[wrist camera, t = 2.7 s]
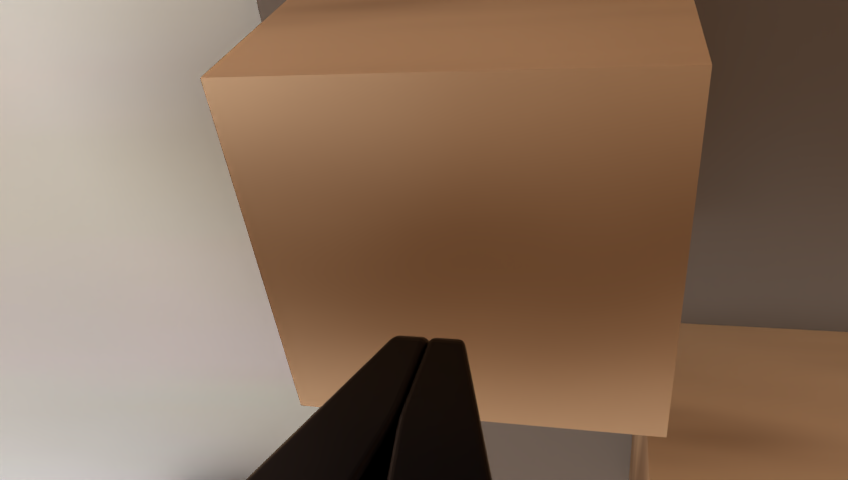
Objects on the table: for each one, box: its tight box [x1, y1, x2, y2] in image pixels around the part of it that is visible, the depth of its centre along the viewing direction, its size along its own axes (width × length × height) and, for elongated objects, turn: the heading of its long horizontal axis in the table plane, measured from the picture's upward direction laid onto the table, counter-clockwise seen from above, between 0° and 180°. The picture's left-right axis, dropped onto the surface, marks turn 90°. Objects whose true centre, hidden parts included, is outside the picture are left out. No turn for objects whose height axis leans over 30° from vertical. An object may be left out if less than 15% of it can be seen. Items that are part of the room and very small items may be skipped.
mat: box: [257, 0, 848, 480], centre depth 14 cm, size 30×16×1 cm, turn 6°
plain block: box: [200, 0, 712, 437], centre depth 12 cm, size 6×6×6 cm
